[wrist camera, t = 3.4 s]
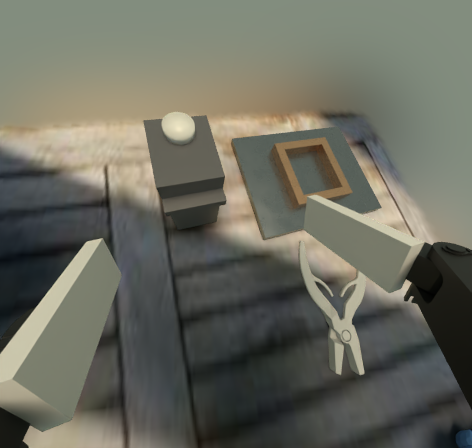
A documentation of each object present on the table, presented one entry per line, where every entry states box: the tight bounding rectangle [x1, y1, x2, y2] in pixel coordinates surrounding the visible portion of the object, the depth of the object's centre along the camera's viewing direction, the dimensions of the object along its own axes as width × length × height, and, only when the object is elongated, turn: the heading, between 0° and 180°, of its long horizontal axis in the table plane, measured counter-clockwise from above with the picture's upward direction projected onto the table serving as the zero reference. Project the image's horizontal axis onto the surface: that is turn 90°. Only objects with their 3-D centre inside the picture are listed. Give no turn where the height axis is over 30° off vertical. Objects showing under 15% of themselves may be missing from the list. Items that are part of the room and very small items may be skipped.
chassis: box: [231, 127, 382, 240], centre depth 28 cm, size 20×16×2 cm
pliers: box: [299, 241, 366, 375], centre depth 23 cm, size 10×2×15 cm
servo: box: [144, 112, 226, 230], centre depth 19 cm, size 5×8×12 cm, turn 16°
